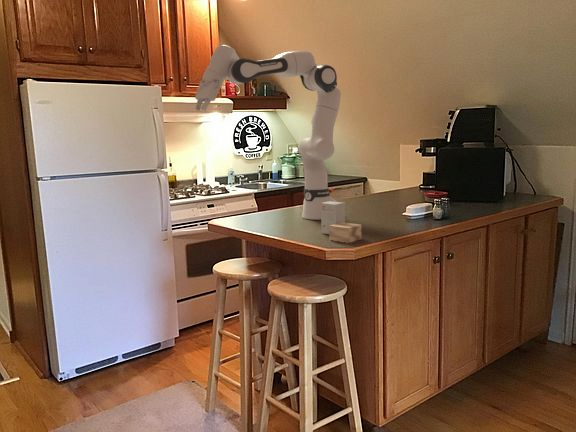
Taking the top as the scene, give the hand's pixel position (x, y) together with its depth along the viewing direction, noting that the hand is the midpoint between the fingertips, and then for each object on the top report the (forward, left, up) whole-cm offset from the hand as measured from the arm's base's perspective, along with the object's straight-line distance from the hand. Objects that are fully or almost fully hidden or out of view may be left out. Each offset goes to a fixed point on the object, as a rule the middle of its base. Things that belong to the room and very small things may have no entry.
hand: (200, 109), depth 226 cm
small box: (-27, +52, -52) cm, 78 cm away
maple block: (-21, +63, -52) cm, 84 cm away
